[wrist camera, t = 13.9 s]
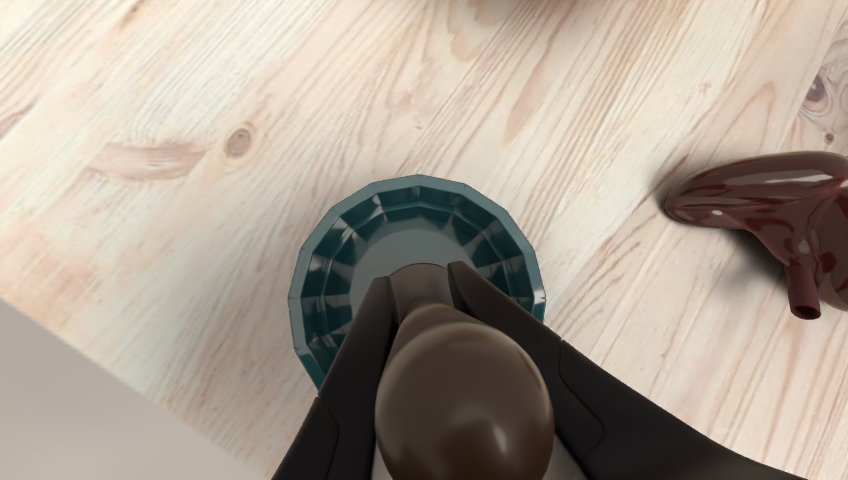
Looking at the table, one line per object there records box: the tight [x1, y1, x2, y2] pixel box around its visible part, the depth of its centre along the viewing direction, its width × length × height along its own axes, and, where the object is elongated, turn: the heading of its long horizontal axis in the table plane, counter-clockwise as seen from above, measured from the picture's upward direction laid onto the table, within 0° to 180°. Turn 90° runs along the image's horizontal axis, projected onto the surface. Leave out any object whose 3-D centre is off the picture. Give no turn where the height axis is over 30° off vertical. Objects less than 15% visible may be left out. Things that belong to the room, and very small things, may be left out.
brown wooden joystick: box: [375, 263, 555, 480], centre depth 9 cm, size 4×4×13 cm
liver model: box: [664, 150, 848, 320], centre depth 16 cm, size 6×12×11 cm
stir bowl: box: [288, 174, 546, 391], centre depth 14 cm, size 9×9×5 cm
